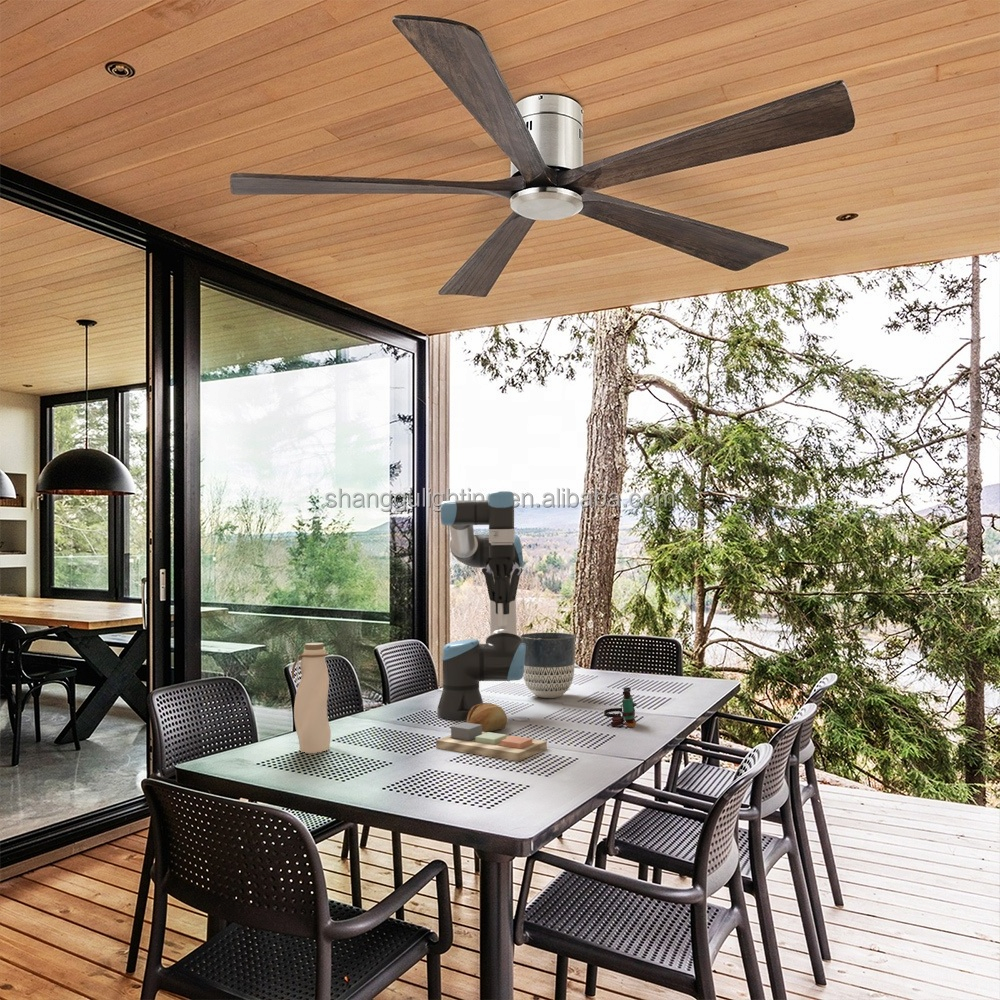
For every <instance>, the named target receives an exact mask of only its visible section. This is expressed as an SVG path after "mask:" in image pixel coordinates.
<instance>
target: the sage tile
mask: <svg viewBox="0 0 1000 1000" xmlns="http://www.w3.org/2000/svg"><path fill="white" fill-rule="evenodd" d="M506 738H507V734H504V733H503V734H502V733H495V732H492V731H490V732H487V733H484V734H482V735H479V736H476V737H475V742H477V743H484V744H490V745H497V744H499V743H501V740H504V739H506Z"/></svg>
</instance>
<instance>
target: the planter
mask: <svg viewBox="0 0 1000 1000" xmlns="http://www.w3.org/2000/svg"><path fill="white" fill-rule="evenodd" d="M519 636H520V637H521V640H522V643H524V644H526V654H525V665H524V674H523V677H522V678H523V681H524V683H525V685H526V688H527V689H528V690H529V691H530V693H532V694H533V695H534V696H537V697H539V698H542V699H555V698H558V697H561V696H562V695H564V694H565V693H566V692H567V691H568V690H569V689H570V687H571V685H572V684H573V679H574V676H575V662H576V635H575V634H572V633H567V632H531V633H524V634H520V635H519Z"/></svg>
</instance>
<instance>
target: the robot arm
mask: <svg viewBox="0 0 1000 1000" xmlns="http://www.w3.org/2000/svg"><path fill="white" fill-rule="evenodd" d="M440 524H441V525H443V526H448V527H449V530H450V537H451V539H450V541H449V549H450V552H451V554H452V556H453V557H454V558H455V559H456V560H457V561H459V562H460V563H462V564H464V565H465V566H469V567H471V568H479V569H480V568H481V572H482V574H483V575H484V578H485V579H484V580H485V583H486V588H487V593H488V597H489V600H490V603H489V606H490V607H489V610H490V611H489V613H490V615H489V616H490V618H489V619H490V621H489V623H490V631H489V632H490V634H489V635H487V637H486V639H485V643H480V641H479V639H476V638H473V639H471V638H470V639H461V640H456V641H451V642H448V643H446V644H445V645H444V646H443V648H442V658H441V661H442V691H441V695H440V698H439V702H438V706H437V710H436V711H437V712H436V714H437V717H438V718H441V719H445V720H458V721H459V720H461V721H462V720H467V716H468V713H469V711H470V710H471V708H472V707H473V706H475V705H477V704H482V703H484V701H483V698H482V694H481V691H480V682H513V681H520V680H522V679H523V678H524V677H523V674H524V665H525V654H526V644H524V643H522V640H521V637H520V636H521V635H519V634H518V632H517V602H516V601H517V600H516V599H517V592H518V587H519V581H520V576H521V575H522V574H523V571H524V569H523V566H524V555H523V547H522V543H521V542H522V541H521V539H520V537H519V535H517V534H515V495H514V492H513V491H509V490H508V491H507V490H506V491H505V490H501V491H500V490H499V491H491V492H489V493H488V499H486V500H485V499H482V500H481V499H480V500H474V499H473V500H467V499H466V500H461V499H460V500H455V499H453V500H444V501H441V504H440ZM474 526H488V534H475V532H474Z"/></svg>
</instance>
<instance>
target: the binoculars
mask: <svg viewBox="0 0 1000 1000" xmlns="http://www.w3.org/2000/svg"><path fill="white" fill-rule="evenodd" d="M631 691H632V690H631V687H629V686H628V687H624V688H623V691H622V696H623V698H622V705H621V706H620V707H612V708H606V709H605V710H603V716H604V717H606V718H611V721H610V724H611V725H610V726H611V727H614V726H615V727H617V726H621V725H622V726H626V727H628V728H635V727H636V721H637V720H636V719H635V718H636V717H635V714H636V713H635V712H636V710H635V707H636V706H638V705H637V703H636V702H634V699H633V695H632V694H631ZM612 712H613V713H612ZM614 712H618V713H614Z"/></svg>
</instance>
